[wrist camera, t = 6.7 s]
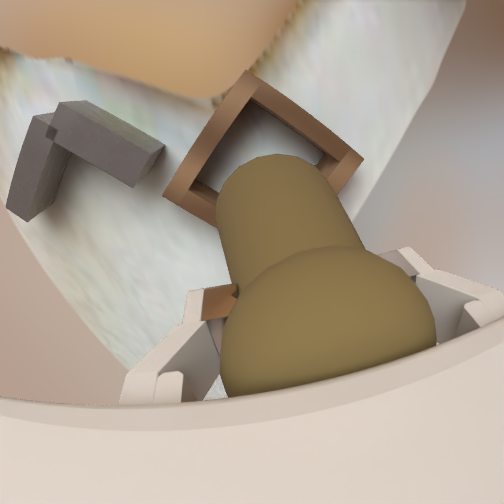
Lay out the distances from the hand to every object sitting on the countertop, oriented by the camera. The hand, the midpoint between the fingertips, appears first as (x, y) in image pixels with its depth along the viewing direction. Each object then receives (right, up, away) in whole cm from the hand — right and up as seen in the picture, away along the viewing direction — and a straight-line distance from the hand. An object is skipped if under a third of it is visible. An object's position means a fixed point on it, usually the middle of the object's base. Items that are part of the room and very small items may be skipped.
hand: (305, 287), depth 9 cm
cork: (0, +3, +6) cm, 7 cm away
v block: (-17, +11, +15) cm, 25 cm away
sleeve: (-1, +9, +17) cm, 19 cm away
